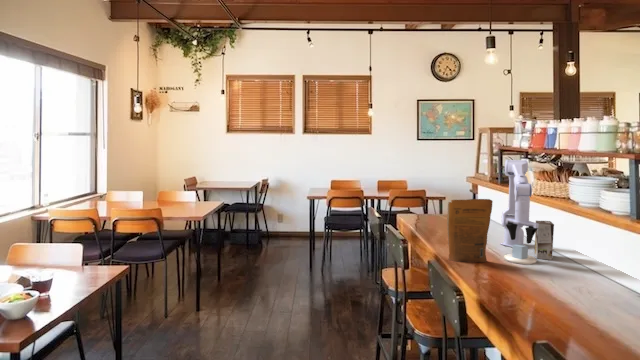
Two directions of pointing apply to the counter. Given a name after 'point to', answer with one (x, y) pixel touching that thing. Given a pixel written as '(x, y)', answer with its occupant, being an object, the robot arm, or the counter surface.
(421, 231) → the counter surface
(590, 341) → the counter surface
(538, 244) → the coffee box
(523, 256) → the block
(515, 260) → the saucer
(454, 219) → the pancake mix bag
